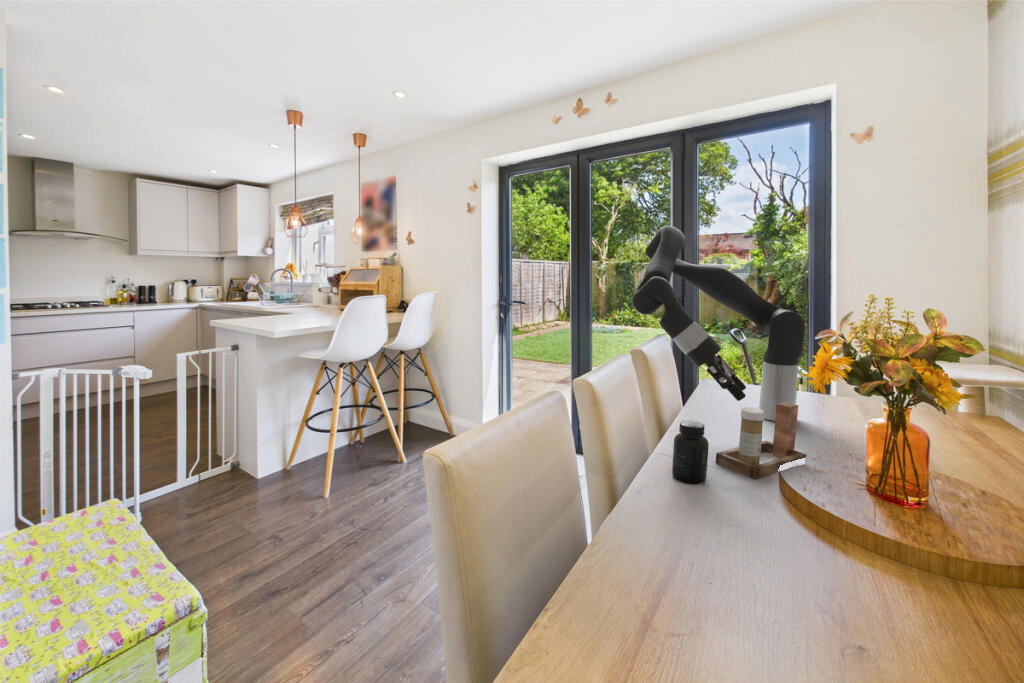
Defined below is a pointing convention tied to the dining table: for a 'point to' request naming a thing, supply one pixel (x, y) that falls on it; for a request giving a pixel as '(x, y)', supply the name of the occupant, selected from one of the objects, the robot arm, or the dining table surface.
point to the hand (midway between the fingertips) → (742, 394)
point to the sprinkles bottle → (751, 435)
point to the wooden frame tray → (769, 446)
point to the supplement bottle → (690, 453)
